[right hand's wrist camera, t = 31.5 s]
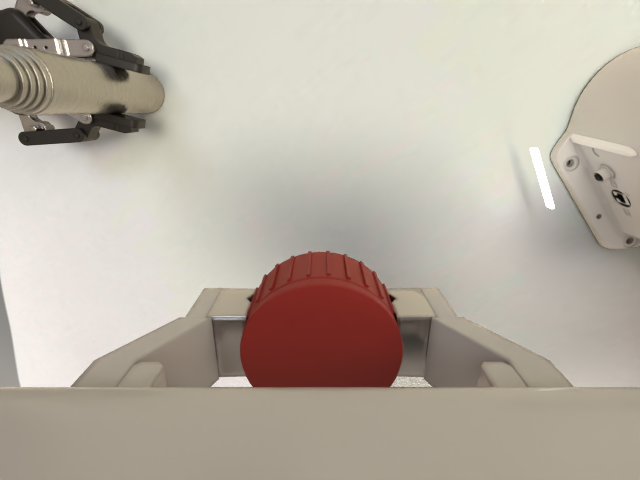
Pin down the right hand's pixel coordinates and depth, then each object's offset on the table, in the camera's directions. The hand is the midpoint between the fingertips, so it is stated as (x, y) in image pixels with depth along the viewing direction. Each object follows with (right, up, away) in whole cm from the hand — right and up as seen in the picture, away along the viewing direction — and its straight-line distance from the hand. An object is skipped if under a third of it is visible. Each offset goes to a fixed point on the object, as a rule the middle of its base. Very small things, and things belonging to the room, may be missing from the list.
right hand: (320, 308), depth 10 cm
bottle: (-19, +18, +27) cm, 37 cm away
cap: (0, -1, -2) cm, 2 cm away
